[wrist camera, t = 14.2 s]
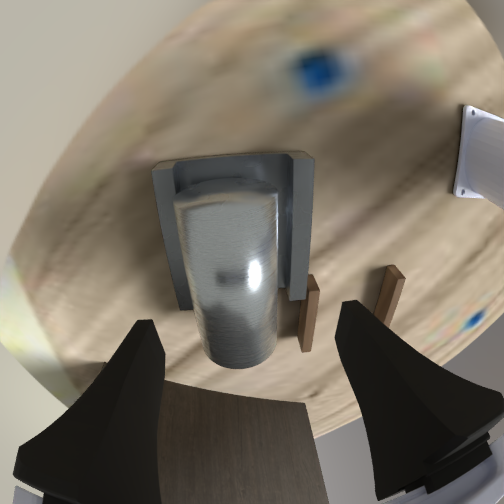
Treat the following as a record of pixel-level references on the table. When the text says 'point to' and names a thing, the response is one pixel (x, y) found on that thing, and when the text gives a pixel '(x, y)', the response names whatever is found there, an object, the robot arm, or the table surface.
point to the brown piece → (382, 311)
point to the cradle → (256, 167)
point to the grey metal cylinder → (231, 266)
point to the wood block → (235, 450)
